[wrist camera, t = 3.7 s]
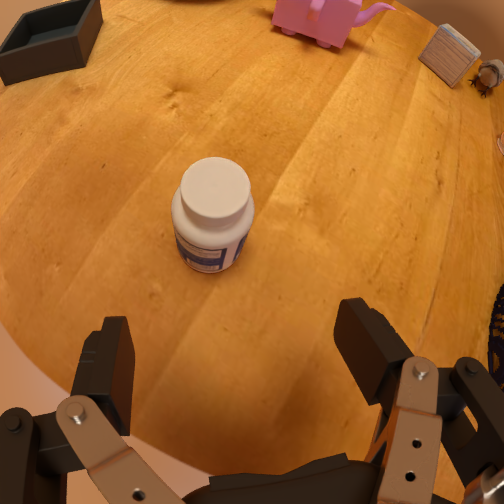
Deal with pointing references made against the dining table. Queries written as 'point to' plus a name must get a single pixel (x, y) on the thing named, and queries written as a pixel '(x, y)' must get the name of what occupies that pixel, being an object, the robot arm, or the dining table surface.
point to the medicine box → (449, 54)
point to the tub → (50, 40)
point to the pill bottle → (212, 214)
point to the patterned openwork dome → (497, 341)
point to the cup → (501, 143)
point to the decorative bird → (490, 74)
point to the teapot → (323, 18)
